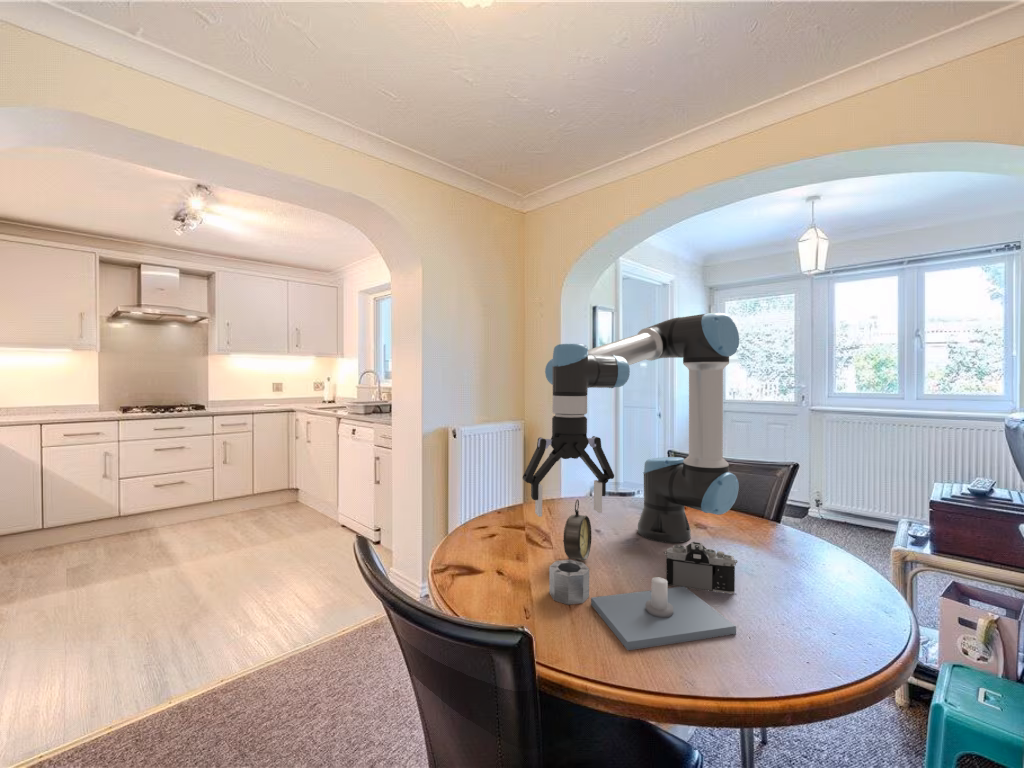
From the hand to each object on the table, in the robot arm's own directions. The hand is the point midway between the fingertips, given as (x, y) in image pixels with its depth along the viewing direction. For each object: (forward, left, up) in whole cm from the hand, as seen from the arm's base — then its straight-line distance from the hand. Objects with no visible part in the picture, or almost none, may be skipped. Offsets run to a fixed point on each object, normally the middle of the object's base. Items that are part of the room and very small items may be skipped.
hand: (568, 512), depth 97 cm
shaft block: (-14, +13, -18) cm, 26 cm away
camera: (-31, +1, -18) cm, 36 cm away
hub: (0, 0, -18) cm, 18 cm away
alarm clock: (-8, -16, -18) cm, 26 cm away
